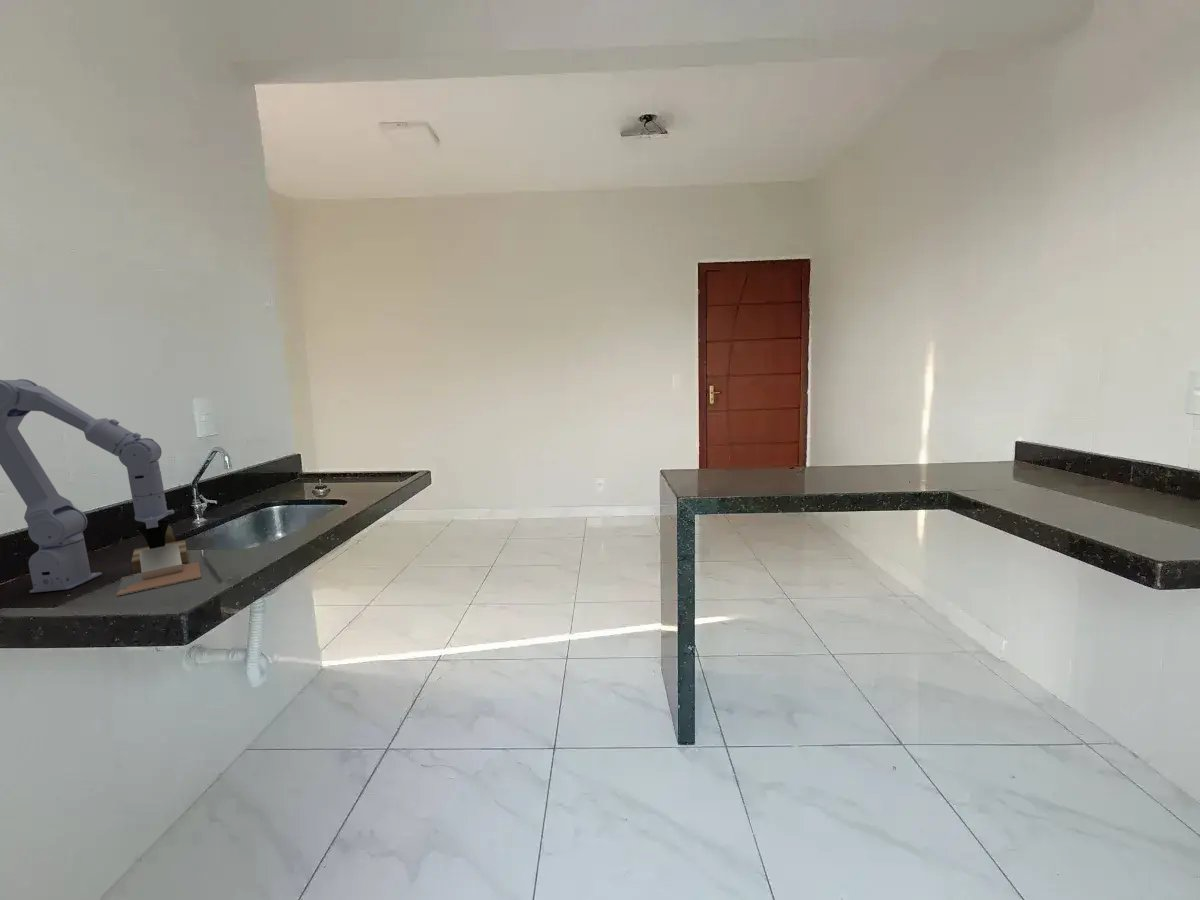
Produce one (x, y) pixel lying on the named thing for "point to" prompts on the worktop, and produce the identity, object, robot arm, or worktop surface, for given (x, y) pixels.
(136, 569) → the wooden bridge block
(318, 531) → the worktop surface
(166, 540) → the olive green rounded cylinder
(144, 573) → the coaster
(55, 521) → the robot arm
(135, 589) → the mat
